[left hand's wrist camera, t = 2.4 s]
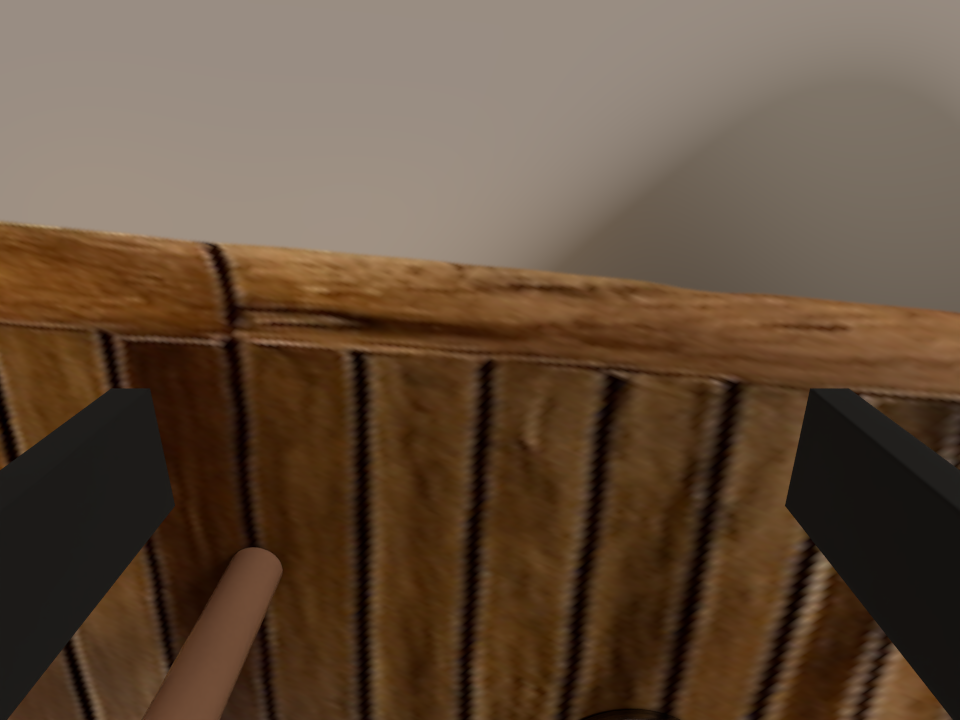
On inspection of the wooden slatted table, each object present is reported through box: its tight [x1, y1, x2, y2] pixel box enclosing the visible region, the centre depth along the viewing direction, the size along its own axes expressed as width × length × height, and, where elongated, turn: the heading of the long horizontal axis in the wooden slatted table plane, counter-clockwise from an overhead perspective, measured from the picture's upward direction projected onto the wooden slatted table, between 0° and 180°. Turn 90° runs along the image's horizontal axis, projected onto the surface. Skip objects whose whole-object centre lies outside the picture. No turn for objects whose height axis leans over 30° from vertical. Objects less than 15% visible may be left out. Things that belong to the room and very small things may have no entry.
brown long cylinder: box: [142, 547, 283, 720], centre depth 40 cm, size 4×4×18 cm
